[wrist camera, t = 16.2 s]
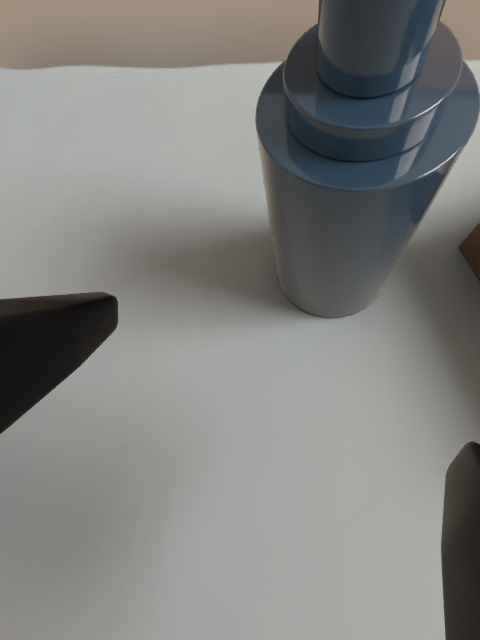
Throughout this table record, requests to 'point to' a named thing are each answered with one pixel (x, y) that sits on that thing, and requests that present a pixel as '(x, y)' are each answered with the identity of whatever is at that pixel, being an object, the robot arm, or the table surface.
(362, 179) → the bottle
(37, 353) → the robot arm
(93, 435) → the table surface
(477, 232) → the wooden box
